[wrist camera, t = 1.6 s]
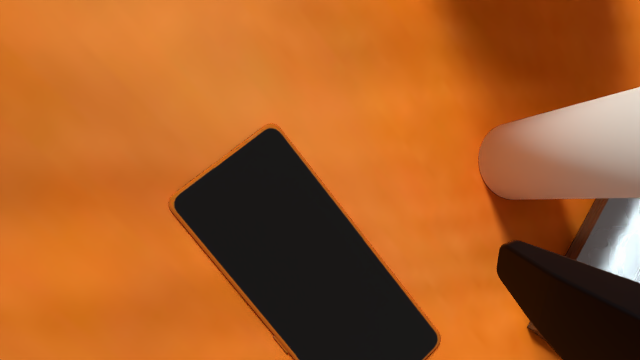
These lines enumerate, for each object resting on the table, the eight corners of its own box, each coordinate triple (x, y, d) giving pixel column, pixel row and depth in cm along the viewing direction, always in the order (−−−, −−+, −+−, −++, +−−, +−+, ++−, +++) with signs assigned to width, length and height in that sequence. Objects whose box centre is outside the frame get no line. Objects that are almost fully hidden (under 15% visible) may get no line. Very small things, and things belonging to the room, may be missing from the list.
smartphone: (271, 120, 25) (274, 117, 24) (439, 336, 27) (446, 340, 26) (162, 202, 23) (160, 202, 23) (349, 427, 25) (353, 435, 24)
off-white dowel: (555, 178, 29) (817, 159, 17) (498, 213, 28) (734, 220, 15) (525, 111, 29) (768, 39, 16) (466, 142, 28) (680, 92, 15)
